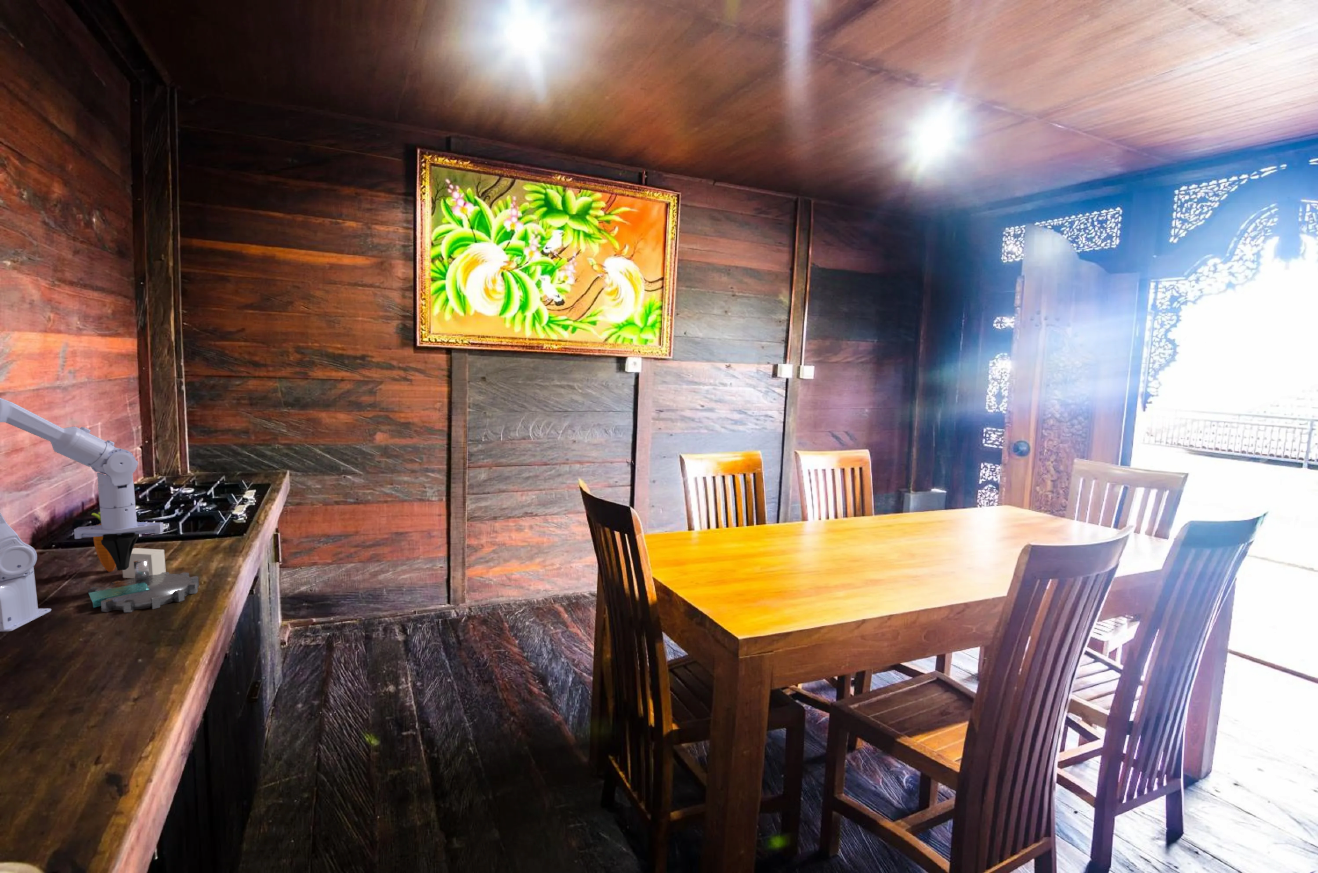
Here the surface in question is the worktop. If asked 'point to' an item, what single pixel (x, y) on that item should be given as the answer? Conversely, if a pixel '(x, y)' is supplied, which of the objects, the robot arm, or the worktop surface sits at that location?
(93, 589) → the timing pointer
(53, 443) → the robot arm
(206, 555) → the worktop surface
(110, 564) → the carrot
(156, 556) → the white rectangular block
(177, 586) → the sprocket
